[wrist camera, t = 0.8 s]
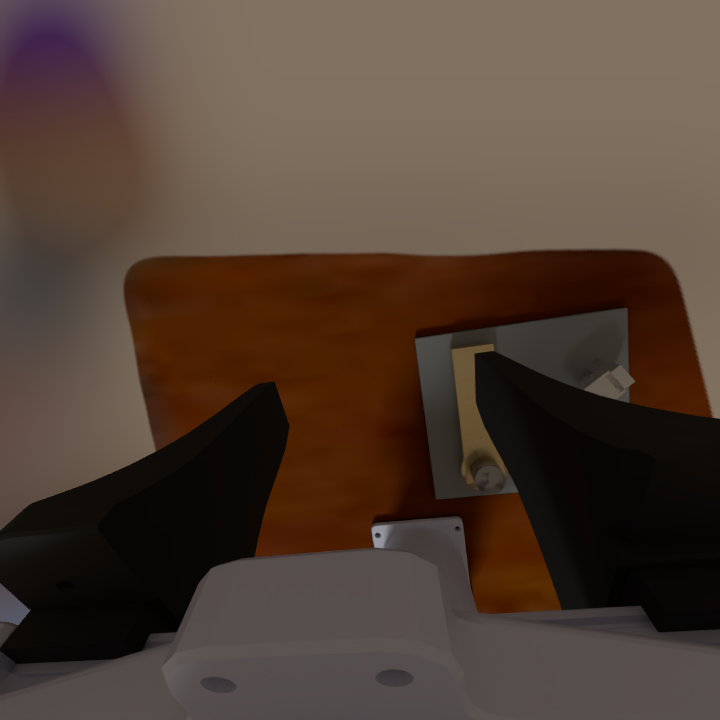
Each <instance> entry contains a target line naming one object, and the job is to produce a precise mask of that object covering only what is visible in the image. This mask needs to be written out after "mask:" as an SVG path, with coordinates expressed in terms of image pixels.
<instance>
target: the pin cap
mask: <svg viewBox="0 0 720 720" xmlns="http://www.w3.org/2000/svg"><path fill="white" fill-rule="evenodd" d="M472 477H473V479H474V481H475V484H476V486H477V488H478V489H479V490H480V491H481V492H483V493H485V494H496V493H498V492H500V491H501V490H502V489H503V488H504V486H505V484H506V477H505V475H504V473H503V472H502V470H501V468H500V467H499V465H498V464H497V463H496V462H494V461H492V460H481V461H479V462H477V463H476V464H475V465H474V467H473V469H472Z"/></svg>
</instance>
